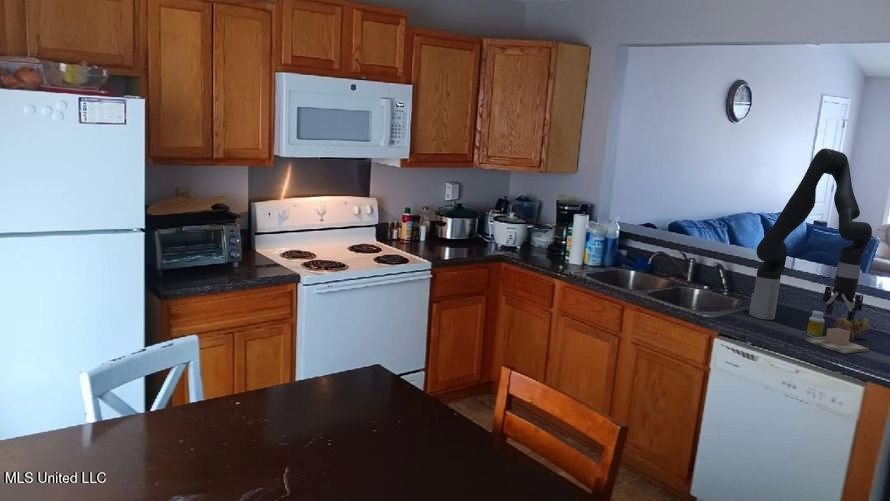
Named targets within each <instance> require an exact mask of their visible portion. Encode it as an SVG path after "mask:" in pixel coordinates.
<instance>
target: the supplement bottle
mask: <svg viewBox="0 0 890 501" xmlns="http://www.w3.org/2000/svg"><path fill="white" fill-rule="evenodd" d="M824 315H825V313H824V312H822V311H819V310H813V311H812V312H811V316H810V317H809V318H808V324H807V330H806V335H807V336H808V337H809V336H810V337H811V338H814V337H823V334H824V333H823V332H824V327H825V326H824V325H825V322H826V321H825V318H824Z"/></svg>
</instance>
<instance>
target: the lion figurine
mask: <svg viewBox="0 0 890 501" xmlns="http://www.w3.org/2000/svg"><path fill="white" fill-rule="evenodd" d="M870 326H871V324H870V320H869V319H868V318H865V317H862V318H857V319H854V320H852V321H847V318H845V317H839V318H837V320H836V321H835V323H834V325H833V327H832V328H841V329H844V330H847V331H850V339H851V340H855V339H858V337H857V335H858V334H862V333H863V332H865V331H868V329H869V328H870Z"/></svg>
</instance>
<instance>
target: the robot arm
mask: <svg viewBox="0 0 890 501" xmlns="http://www.w3.org/2000/svg"><path fill="white" fill-rule="evenodd" d="M825 174H827V175H830V176H832V177H833V179H834V181H835V185H836V188H835V192H834V195H833V202H834V206H835V210H836V211H837V214H838V234H839V236H840V238H841V239H843V240H845V241H852V243H851V245H848V246H843V247H842V248H841V250H840V253H839V258H838V263H837V266H836V270H835V275H834V276H835V277H834V282H833V286H834V287H833V286H831V285H830V286H826V287H825V288H824V289H825V290H824V293H823V297H822V301H823V302H824V303H826V308H825V312H826V315H829V316H832V315H833V310H834V306H835V305H834V304H835V303H836V302H841V303H842V304H845V306H847V308H848V310H849V311H848V312H847V318H846V320H847V321H853V320H855V316H856V312H862V309H863V303H864V302H863V301H864V295H863V294H856V291H857V289H858V285H859V284H858V283H859V277H860V273H861V264H862V258H863V255H864V252H865V250H866V248H867V246H868V244H869V243H870V240H871V239H872V235H873V229H872V226H871V225H870V224H869V223H868V222H866V221H855V220H856V219H857V218H859V217H860V215H861V211H860V208H859V204H858V201H857V199H856V196H855V193H854V189H853V182H852V176H851V170H850V162H849V158H848V156H847V155H846V154H845V153H844V152H841V151H839V150H834V149H831V148H825V147H824V148H822V149H820V150H818V151H817V152H816V153H815V155H814V157H813V158H812V160H811V162H810V163H809V166H808V168H807V170H806V172H805V174H804V175H803V177H802V179H801V181H800V183H799V184H798V186H797V188H796V189H795V191H794V192H793V193H792V195H791V197H790V199H789V200H788V201H787V203H786V204H785V206H784V207H783V209H782V210H781V212H780V213H779V216H778V217H777V218H776V220H775V222H774V224H773V225H772V226H771V227H770V229H769V230H768V231H767V233H766V234H765V235H764V236H763V237H762V239H761V240H760V242H759V243H758V245H757V247H756V256H757V258H758V259H759V261H763V263H762V264H761V265H760V267H759V268H758V269H756V276H755V284H754V292H752V293H751V297H750V304H749V312H748V315H750V316H752V317H753V318H757V319H762V320H769V321H771V320H775V317H776V310H777V303H778V299H779V298H778V297H779V290H780V283H781V278H782V275H783V272H784V270H785V266H786V262H787V256H788V248H787V245H786V242H785V240H786V238H788V237H789V235H790V234H792V233H793V232H794V231H795V230H796V229H797V228H799V227H800V225H801V224H803V223H804V222H805V221H806V220H807V218H808V217H809V215H810V214H811V212H812V211H813V209H814V208H815V205H816V198H817V197H816V196H817V192H816V191H817V187H818V184H819V182H820V180H821V178H822V177H823V176H824V175H825ZM853 220H854V221H853ZM832 293H833V295H832Z"/></svg>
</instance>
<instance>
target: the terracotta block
mask: <svg viewBox="0 0 890 501" xmlns="http://www.w3.org/2000/svg"><path fill="white" fill-rule="evenodd" d="M825 337H826V341H825V342H828V343H832V344H835V345H848V344H849V342H850V339H851V331H849V330H846V329H845V328H836V327H834V328H833V327H831V328H827V329H826V336H825Z"/></svg>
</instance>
